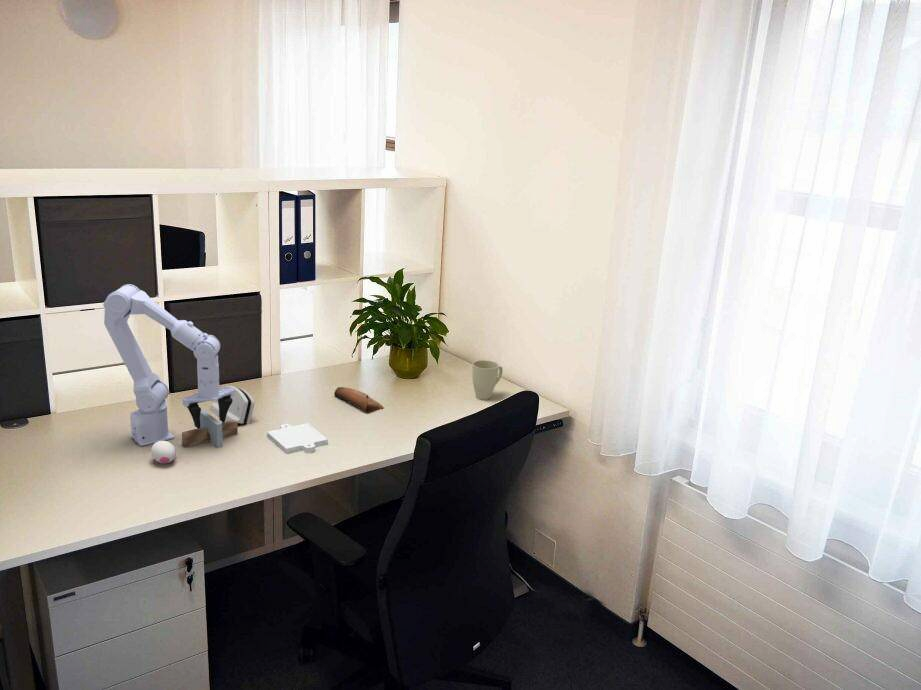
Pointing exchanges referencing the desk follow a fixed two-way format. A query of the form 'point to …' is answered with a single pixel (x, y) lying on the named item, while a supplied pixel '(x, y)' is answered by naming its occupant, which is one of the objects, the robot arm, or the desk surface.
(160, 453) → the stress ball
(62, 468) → the desk surface
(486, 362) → the mug
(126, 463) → the desk surface
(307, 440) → the mounting plate
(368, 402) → the sunglasses case
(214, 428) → the upright grey panel
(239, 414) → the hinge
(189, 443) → the walnut plate
